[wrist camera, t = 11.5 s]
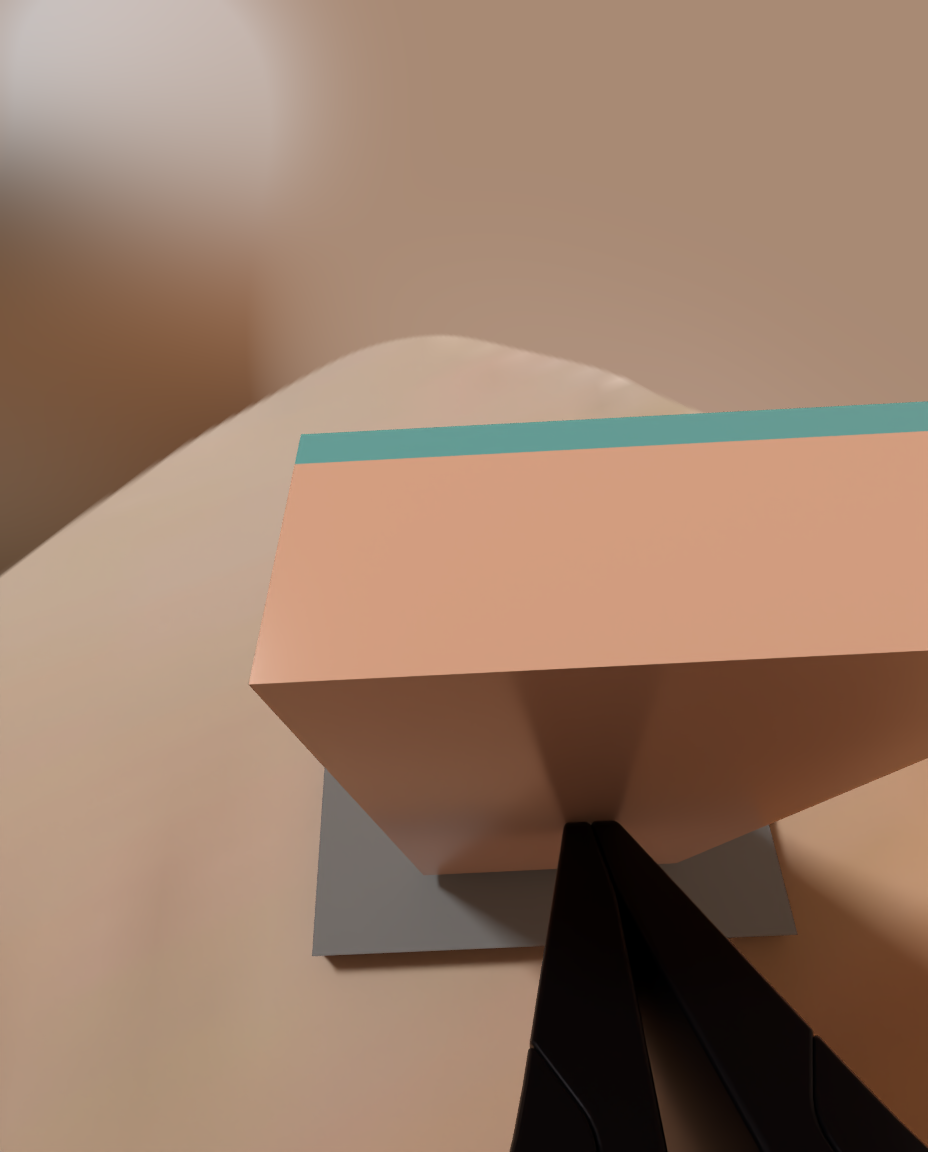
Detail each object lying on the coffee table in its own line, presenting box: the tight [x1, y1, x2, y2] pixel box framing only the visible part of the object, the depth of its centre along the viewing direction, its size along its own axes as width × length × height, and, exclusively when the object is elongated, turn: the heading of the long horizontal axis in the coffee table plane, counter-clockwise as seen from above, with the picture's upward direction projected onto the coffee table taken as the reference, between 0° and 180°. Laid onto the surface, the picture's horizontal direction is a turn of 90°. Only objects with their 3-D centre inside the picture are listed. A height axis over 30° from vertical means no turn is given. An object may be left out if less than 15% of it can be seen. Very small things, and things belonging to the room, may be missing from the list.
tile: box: [249, 402, 928, 875], centre depth 9 cm, size 2×6×12 cm, turn 93°
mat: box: [312, 768, 798, 956], centre depth 16 cm, size 13×12×1 cm
